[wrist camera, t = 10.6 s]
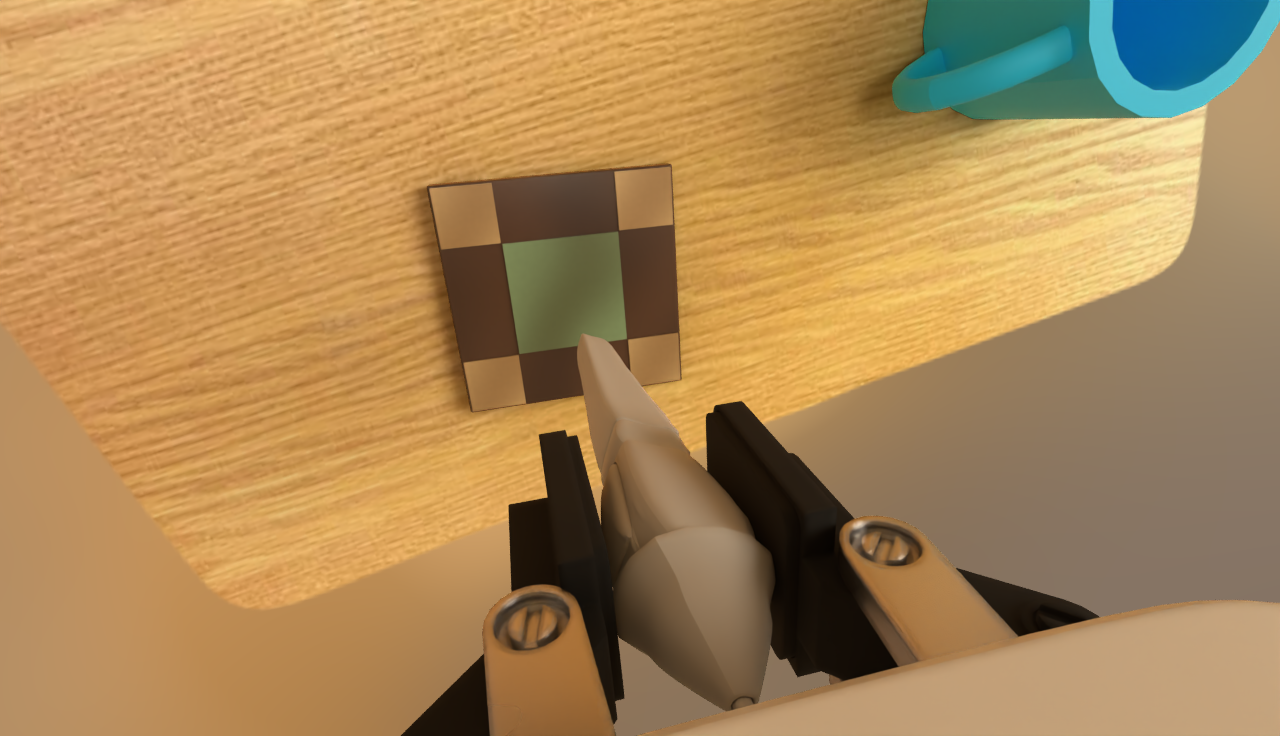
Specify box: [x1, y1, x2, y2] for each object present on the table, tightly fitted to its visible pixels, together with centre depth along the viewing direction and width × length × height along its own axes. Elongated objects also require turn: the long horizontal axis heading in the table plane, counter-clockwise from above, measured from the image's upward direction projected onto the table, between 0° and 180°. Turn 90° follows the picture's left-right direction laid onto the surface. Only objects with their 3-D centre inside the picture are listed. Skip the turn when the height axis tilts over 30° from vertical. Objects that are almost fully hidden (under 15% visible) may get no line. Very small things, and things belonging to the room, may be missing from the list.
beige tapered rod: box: [577, 334, 776, 712], centre depth 14 cm, size 2×3×14 cm
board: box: [427, 163, 681, 412], centre depth 27 cm, size 10×10×1 cm
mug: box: [892, 0, 1280, 120], centre depth 23 cm, size 12×8×8 cm
